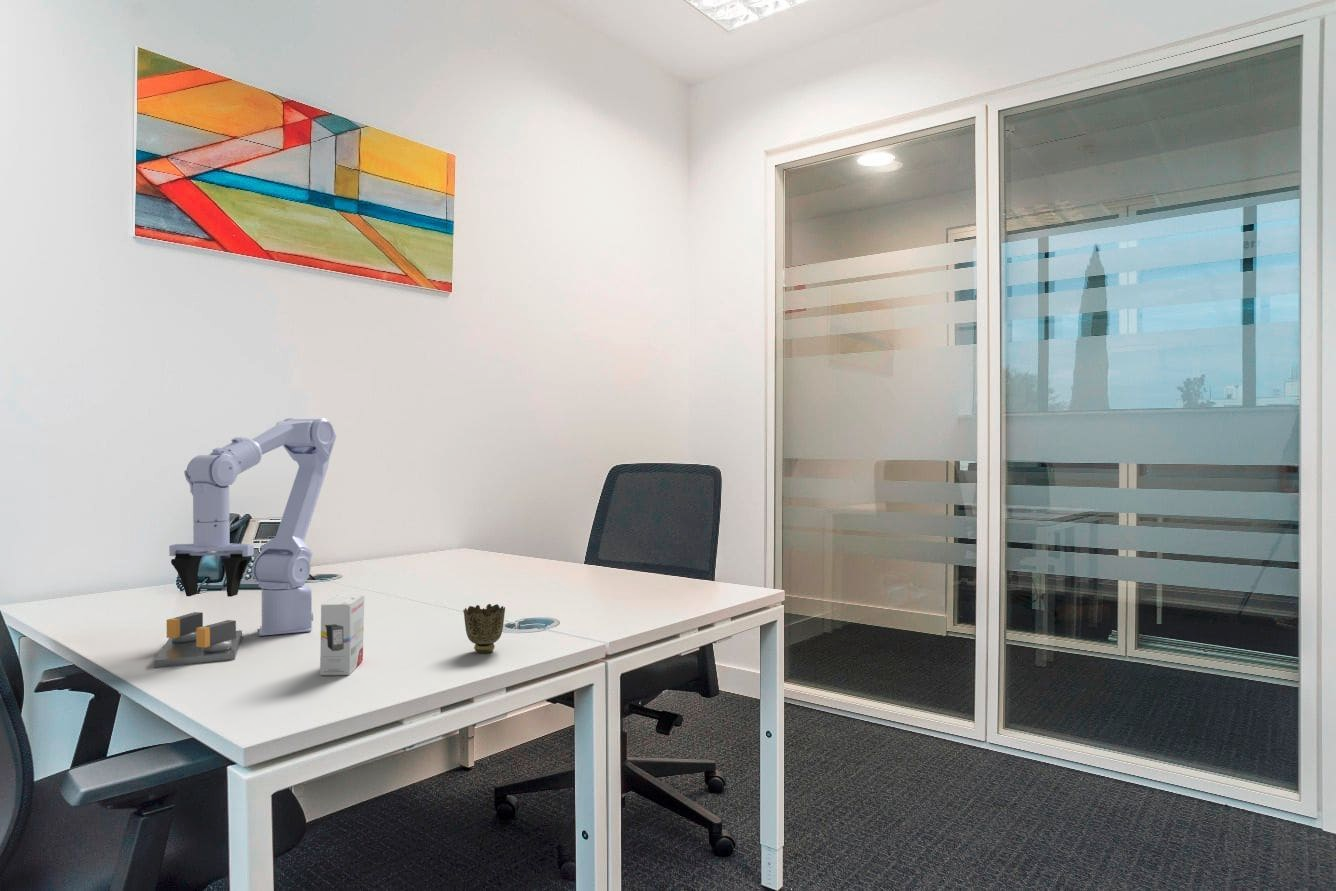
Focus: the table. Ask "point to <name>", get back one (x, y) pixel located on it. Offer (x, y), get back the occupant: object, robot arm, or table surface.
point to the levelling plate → (193, 653)
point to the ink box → (341, 634)
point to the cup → (484, 626)
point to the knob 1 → (184, 627)
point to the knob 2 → (216, 636)
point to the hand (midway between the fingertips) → (212, 595)
